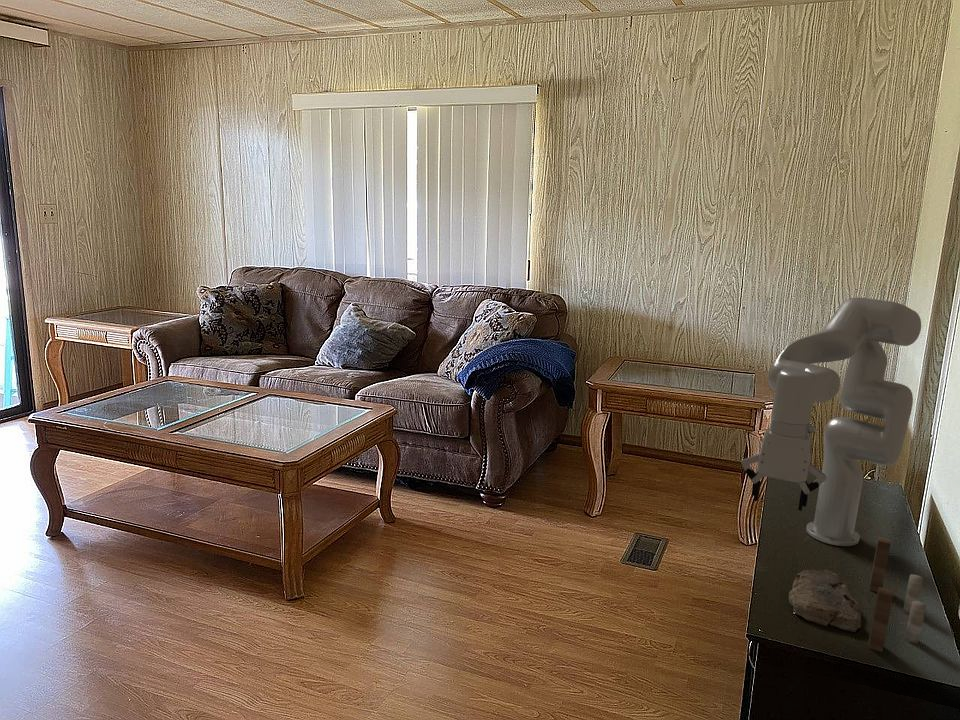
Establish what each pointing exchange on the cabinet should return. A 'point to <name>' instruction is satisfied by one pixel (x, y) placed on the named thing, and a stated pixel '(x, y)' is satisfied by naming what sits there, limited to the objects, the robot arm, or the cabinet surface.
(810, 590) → the clay tablet
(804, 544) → the cabinet surface
